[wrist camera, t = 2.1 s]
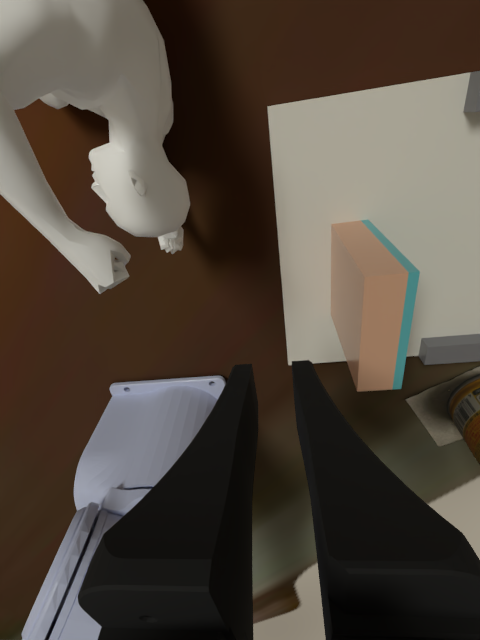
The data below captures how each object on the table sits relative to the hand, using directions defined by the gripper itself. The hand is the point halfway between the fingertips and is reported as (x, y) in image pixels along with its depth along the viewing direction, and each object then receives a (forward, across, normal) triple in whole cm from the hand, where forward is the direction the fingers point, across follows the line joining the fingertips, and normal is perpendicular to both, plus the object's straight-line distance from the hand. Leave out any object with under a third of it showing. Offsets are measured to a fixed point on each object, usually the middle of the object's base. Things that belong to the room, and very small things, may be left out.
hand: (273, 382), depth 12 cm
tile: (+10, -5, 0) cm, 11 cm away
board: (+10, -10, 0) cm, 14 cm away
